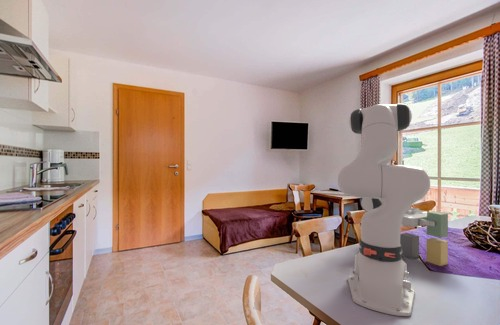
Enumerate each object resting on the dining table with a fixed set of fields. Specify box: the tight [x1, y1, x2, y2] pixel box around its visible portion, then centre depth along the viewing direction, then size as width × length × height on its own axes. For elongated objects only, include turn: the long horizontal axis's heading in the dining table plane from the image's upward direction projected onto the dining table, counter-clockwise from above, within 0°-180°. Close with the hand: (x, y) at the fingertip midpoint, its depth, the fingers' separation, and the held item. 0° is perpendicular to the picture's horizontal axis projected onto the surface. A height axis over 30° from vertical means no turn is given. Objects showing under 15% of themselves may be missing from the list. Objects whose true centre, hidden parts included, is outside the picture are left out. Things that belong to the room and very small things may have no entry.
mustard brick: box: [426, 237, 449, 267], centre depth 96 cm, size 5×5×9 cm
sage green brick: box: [426, 211, 449, 239], centre depth 97 cm, size 5×5×9 cm
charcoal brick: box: [400, 232, 420, 260], centre depth 103 cm, size 5×5×9 cm
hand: (439, 223), depth 96 cm, fingers closed on sage green brick, 5 cm apart
